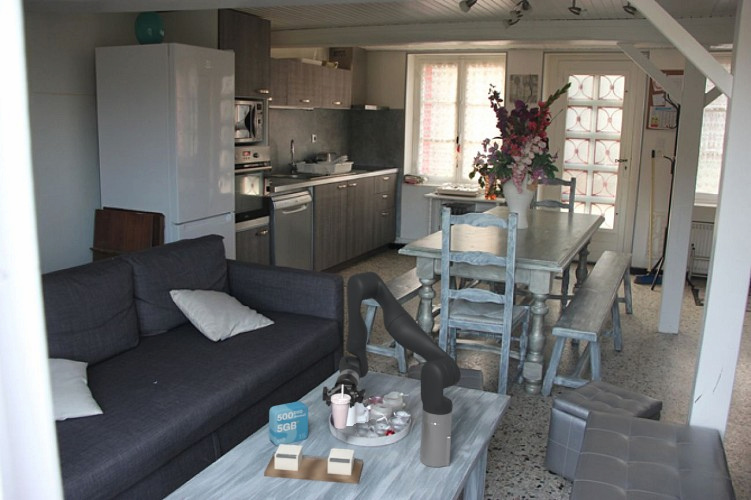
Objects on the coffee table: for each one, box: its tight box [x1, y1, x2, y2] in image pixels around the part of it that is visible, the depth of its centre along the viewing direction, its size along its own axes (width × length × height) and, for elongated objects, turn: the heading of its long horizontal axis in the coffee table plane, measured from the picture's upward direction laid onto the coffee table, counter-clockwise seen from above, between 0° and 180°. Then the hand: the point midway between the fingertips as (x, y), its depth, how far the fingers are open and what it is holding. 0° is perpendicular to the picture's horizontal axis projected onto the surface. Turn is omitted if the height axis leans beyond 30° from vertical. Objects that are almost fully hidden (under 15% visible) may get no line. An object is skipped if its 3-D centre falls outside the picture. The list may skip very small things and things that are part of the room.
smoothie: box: [331, 384, 351, 430], centre depth 218 cm, size 6×6×14 cm
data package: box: [268, 400, 309, 447], centre depth 227 cm, size 12×4×12 cm, turn 122°
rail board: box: [263, 444, 364, 485], centre depth 209 cm, size 28×12×6 cm, turn 85°
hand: (339, 404), depth 215 cm, fingers closed on smoothie, 6 cm apart
